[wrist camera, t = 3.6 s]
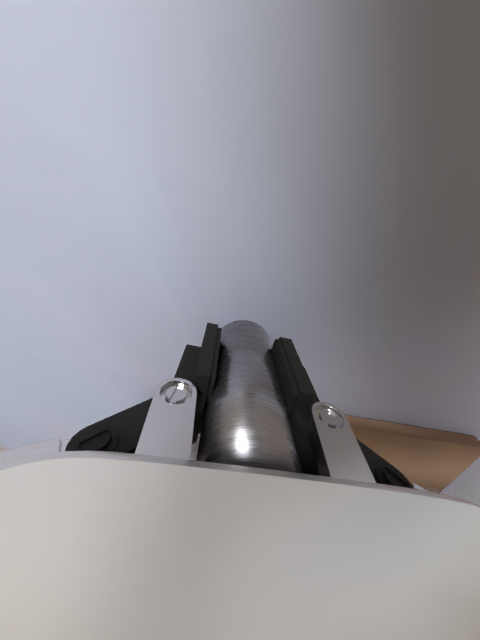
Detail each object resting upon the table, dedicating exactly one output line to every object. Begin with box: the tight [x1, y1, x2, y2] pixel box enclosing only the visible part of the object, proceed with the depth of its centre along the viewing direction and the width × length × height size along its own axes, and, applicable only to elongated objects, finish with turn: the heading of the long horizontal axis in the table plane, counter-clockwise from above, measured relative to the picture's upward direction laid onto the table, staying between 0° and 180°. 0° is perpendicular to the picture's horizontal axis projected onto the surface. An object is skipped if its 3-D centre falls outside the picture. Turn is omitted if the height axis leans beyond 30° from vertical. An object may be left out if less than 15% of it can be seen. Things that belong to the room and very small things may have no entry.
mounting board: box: [345, 415, 480, 492], centre depth 17 cm, size 11×19×1 cm, turn 77°
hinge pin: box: [196, 321, 303, 474], centre depth 9 cm, size 3×3×8 cm
